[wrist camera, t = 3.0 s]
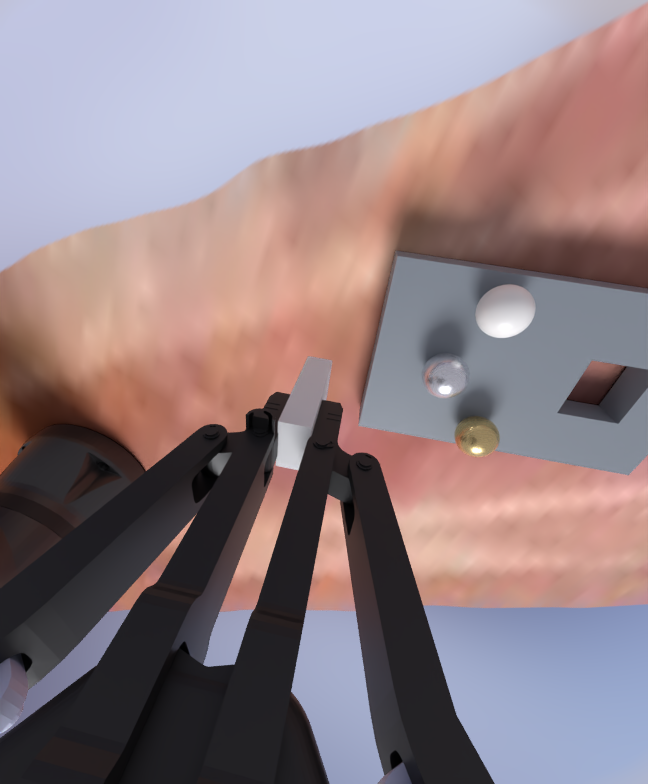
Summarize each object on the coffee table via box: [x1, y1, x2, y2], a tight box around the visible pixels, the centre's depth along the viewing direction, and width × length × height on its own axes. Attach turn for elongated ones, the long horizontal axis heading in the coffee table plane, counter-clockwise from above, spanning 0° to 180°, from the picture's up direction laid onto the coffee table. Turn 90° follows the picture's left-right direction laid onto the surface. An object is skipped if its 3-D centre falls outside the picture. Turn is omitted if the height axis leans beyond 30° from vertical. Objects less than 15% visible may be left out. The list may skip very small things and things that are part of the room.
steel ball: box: [421, 353, 470, 398], centre depth 22 cm, size 3×3×3 cm
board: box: [359, 251, 648, 475], centre depth 24 cm, size 23×14×2 cm, turn 83°
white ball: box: [475, 284, 536, 338], centre depth 19 cm, size 3×3×3 cm
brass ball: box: [454, 416, 500, 457], centre depth 24 cm, size 3×3×3 cm
